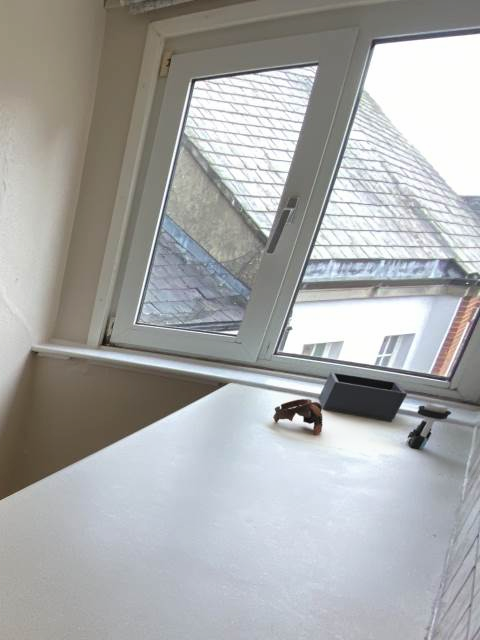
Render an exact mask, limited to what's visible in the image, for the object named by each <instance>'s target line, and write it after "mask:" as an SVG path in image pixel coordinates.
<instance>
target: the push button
mask: <svg viewBox="0 0 480 640" xmlns="http://www.w3.org/2000/svg"><path fill="white" fill-rule="evenodd" d="M448 408H449V406H447V405H444V404H440V403H436V402H426V403H425V405H418V408H417V409H418V410H417V413H416V414H418V415H419V417H421V418H423V419H422V420H421V422H420V424H418V425H417V427H416V428H413V429H412V431H410V432H409V434H408V436H407V440H406V442H405V444H406V445H409V448H412V449H417V450H423V449H424V448H425V446H426V444H427V443H428V441H429V439H430V437H431V436H432V432H431V431H432V427H433V425H434V423H435V422H436V421H441V420H447V419H448V416H450V415H451V414H452V412H451V411H450V410H448Z"/></svg>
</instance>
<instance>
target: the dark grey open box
mask: <svg viewBox="0 0 480 640" xmlns="http://www.w3.org/2000/svg"><path fill="white" fill-rule="evenodd" d="M407 395H408V393H407V392H406V390H405V389H404V388H403V387H402V386H401V385H400V383H398V382H397V381H391V380H386V379H385V380H384V379H378V378H371V377H365V376H358V375H353V374H352V375H351V374H345V373H339V372H334V371H330V372H329V375H328V377H327V379H326V381H325V383H324V385H323V387H322V390H321V392H320V394H319V396H318V400H319V404H321V406H322V410H324V411H329V412H334V413H335V412H336V413H340V414H347V415H352V416H357V417H363V418H367V419H374V420H379V421H385V422H390V423H392V422H394V419H395V417H397V414H398V412H399V410H400V408H401V406H402V405H403V402H404V400H405V399H406V397H407Z"/></svg>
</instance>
